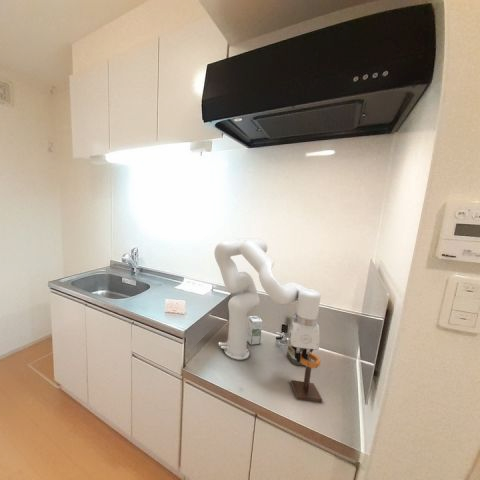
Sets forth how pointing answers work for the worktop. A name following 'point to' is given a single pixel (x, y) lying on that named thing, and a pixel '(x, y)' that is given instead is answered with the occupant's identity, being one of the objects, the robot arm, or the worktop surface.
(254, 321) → the syrup box
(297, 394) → the stand
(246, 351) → the robot arm
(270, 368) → the worktop surface
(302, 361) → the ring
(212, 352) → the worktop surface
